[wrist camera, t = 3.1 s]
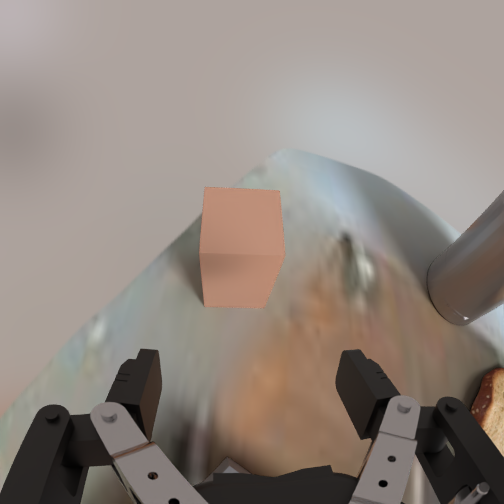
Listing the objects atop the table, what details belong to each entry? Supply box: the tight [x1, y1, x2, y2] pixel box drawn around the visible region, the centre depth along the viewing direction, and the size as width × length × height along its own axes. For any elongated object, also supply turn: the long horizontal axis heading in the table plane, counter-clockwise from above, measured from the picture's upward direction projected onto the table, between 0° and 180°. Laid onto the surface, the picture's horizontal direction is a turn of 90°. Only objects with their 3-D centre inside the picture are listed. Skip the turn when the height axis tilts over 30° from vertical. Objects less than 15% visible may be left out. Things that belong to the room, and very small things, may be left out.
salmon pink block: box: [199, 187, 285, 308], centre depth 26 cm, size 6×6×10 cm
